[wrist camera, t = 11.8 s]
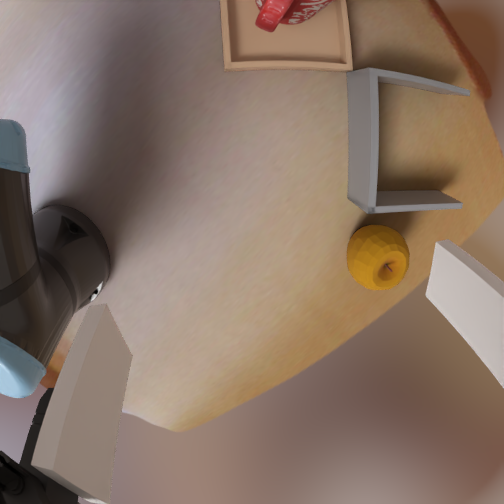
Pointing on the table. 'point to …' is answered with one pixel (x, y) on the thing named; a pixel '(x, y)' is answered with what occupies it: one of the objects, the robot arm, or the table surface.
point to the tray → (285, 40)
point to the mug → (286, 12)
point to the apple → (377, 257)
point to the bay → (367, 144)
